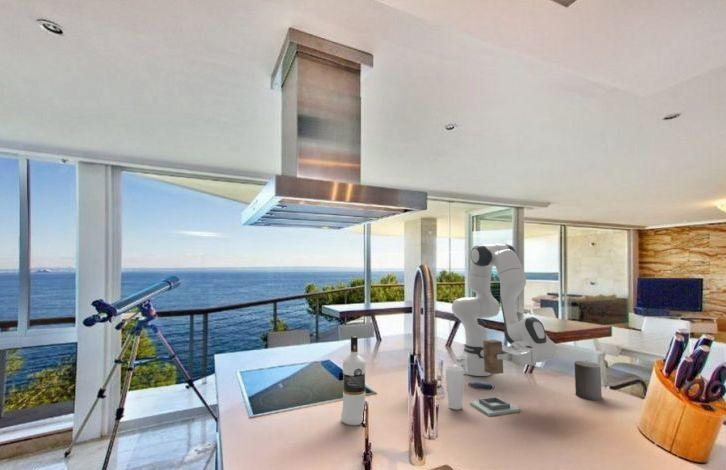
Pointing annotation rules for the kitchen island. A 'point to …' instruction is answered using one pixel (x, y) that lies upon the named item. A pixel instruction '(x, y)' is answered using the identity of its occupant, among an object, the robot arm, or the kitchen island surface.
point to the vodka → (353, 386)
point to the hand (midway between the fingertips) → (491, 355)
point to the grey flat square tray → (494, 406)
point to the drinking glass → (455, 387)
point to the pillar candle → (588, 380)
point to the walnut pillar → (492, 356)
